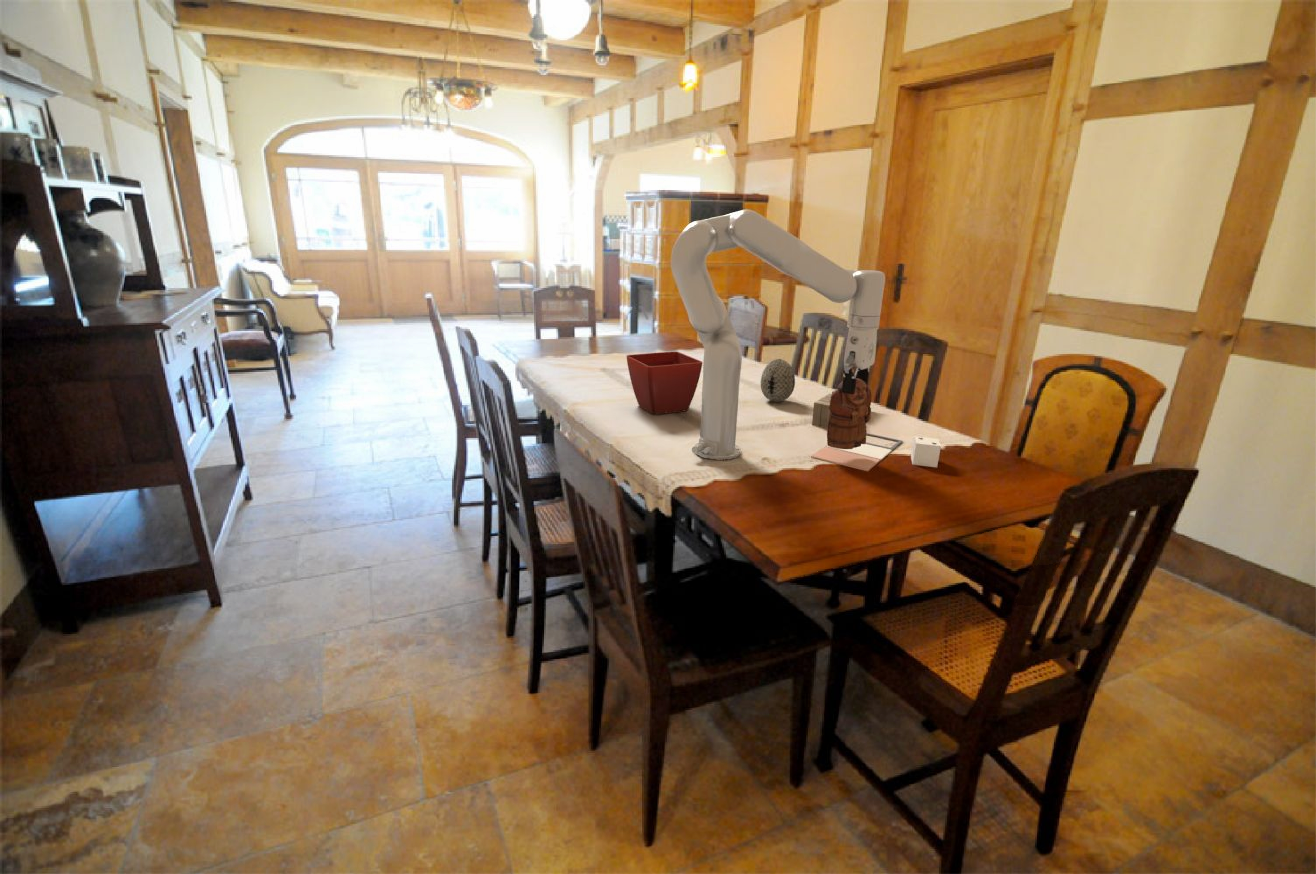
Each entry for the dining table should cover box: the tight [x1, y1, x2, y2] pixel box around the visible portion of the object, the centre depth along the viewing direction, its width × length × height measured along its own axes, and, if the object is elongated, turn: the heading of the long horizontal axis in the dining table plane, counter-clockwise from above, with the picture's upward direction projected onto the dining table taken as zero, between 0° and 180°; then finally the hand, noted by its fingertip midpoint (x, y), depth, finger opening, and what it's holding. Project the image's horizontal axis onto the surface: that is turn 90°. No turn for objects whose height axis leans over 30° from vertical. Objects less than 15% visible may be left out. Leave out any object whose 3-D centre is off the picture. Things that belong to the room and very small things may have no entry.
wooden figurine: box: [826, 377, 872, 449], centre depth 164 cm, size 12×6×18 cm, turn 124°
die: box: [910, 435, 942, 468], centre depth 167 cm, size 6×6×6 cm
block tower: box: [811, 388, 837, 429], centre depth 204 cm, size 8×8×29 cm
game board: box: [810, 432, 904, 472], centre depth 176 cm, size 29×15×1 cm, turn 143°
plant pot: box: [626, 351, 703, 415], centre depth 206 cm, size 19×19×17 cm
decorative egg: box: [760, 358, 796, 403], centre depth 218 cm, size 12×12×15 cm
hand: (854, 389), depth 162 cm, fingers closed on wooden figurine, 8 cm apart
